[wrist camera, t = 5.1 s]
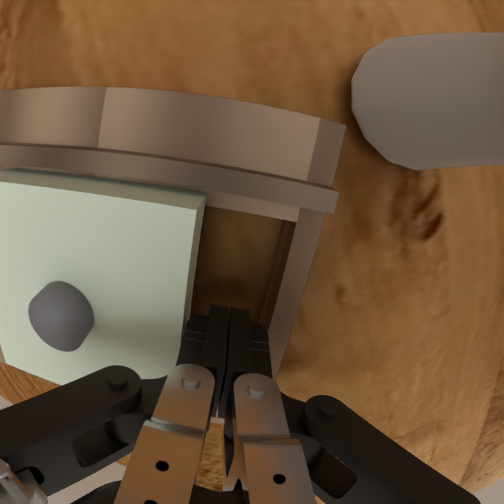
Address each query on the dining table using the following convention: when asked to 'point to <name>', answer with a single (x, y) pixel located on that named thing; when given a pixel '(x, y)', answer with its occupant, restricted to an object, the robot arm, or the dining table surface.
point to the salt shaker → (433, 99)
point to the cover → (94, 273)
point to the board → (191, 164)
